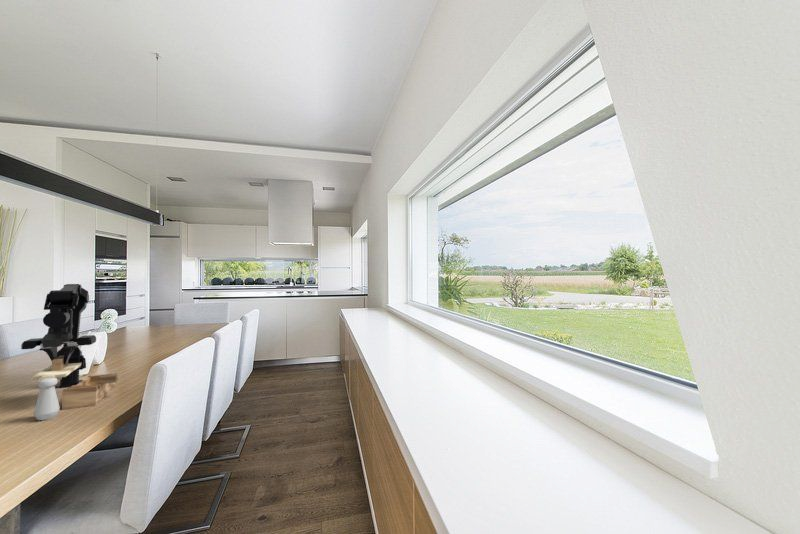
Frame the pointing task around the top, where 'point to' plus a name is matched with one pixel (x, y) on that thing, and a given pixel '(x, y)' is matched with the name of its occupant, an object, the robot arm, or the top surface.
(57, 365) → the lid
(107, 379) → the block
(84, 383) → the toolbox
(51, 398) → the salt shaker
